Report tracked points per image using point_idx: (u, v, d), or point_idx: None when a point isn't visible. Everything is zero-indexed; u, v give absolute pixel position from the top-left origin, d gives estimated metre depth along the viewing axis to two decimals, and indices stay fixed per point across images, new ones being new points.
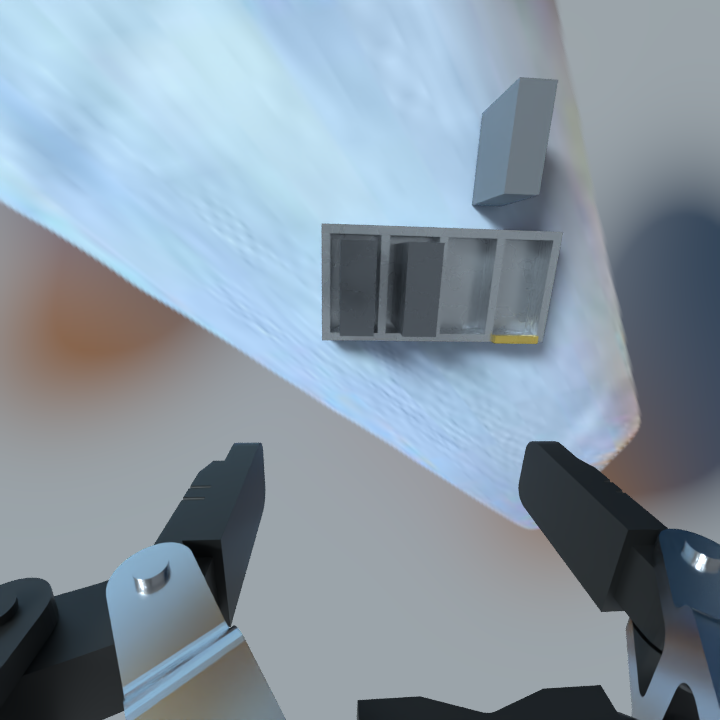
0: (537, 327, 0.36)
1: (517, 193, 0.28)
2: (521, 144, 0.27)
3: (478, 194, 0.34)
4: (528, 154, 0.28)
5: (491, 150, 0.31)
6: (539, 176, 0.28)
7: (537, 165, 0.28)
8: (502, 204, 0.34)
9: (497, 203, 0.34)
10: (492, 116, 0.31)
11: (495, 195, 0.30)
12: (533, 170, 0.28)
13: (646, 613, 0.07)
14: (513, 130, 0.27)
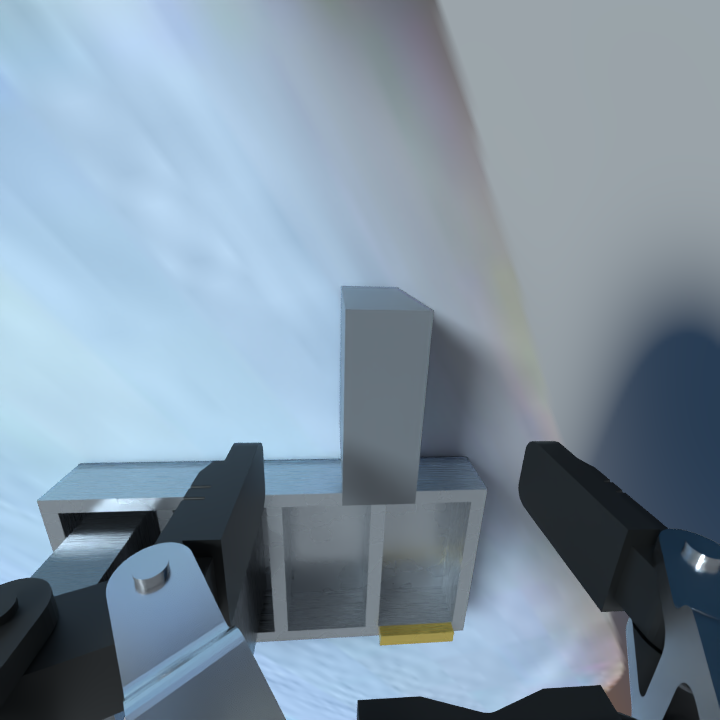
0: (453, 611, 0.22)
1: (370, 503, 0.14)
2: (366, 426, 0.13)
3: None
4: (384, 442, 0.13)
5: (341, 376, 0.16)
6: (412, 476, 0.14)
7: (405, 458, 0.13)
8: None
9: None
10: None
11: (341, 478, 0.15)
12: (399, 467, 0.14)
13: (646, 613, 0.07)
14: (345, 404, 0.13)
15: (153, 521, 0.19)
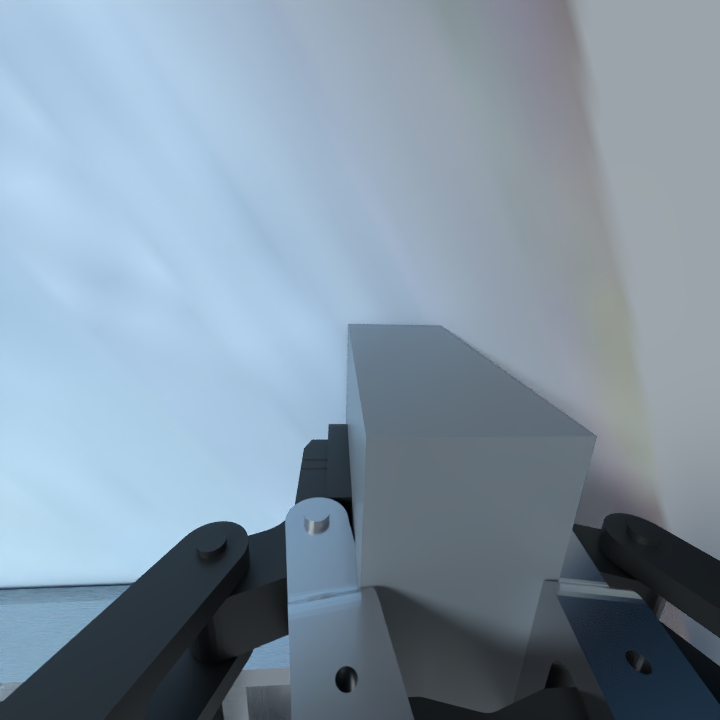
0: None
1: None
2: (408, 676, 0.06)
3: None
4: (446, 700, 0.06)
5: None
6: None
7: None
8: None
9: None
10: (350, 389, 0.09)
11: None
12: None
13: None
14: None
15: None
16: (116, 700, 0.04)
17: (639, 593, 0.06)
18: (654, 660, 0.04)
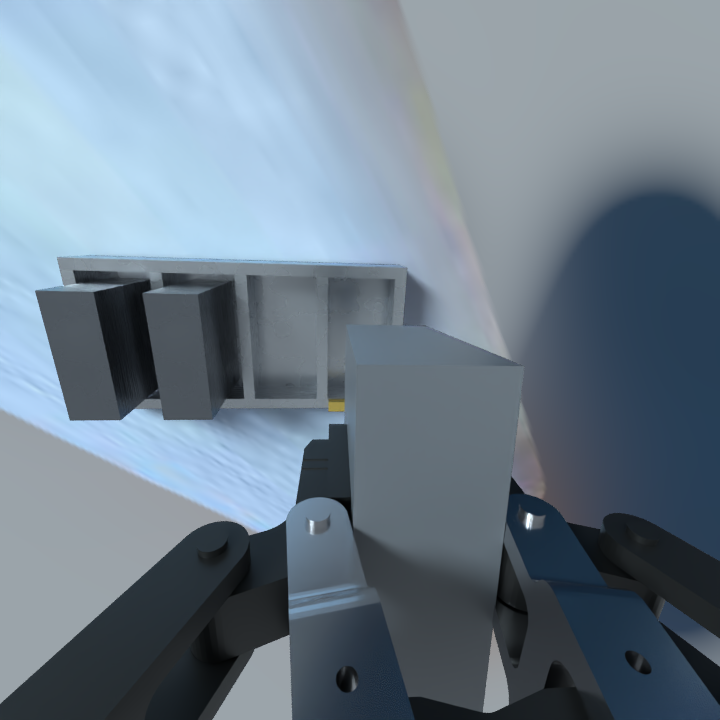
0: None
1: None
2: (394, 580, 0.07)
3: None
4: (427, 607, 0.07)
5: None
6: (478, 665, 0.07)
7: (466, 636, 0.07)
8: None
9: None
10: (347, 371, 0.10)
11: None
12: (454, 651, 0.07)
13: (500, 580, 0.07)
14: None
15: None
16: (117, 699, 0.04)
17: (638, 593, 0.06)
18: (653, 660, 0.04)
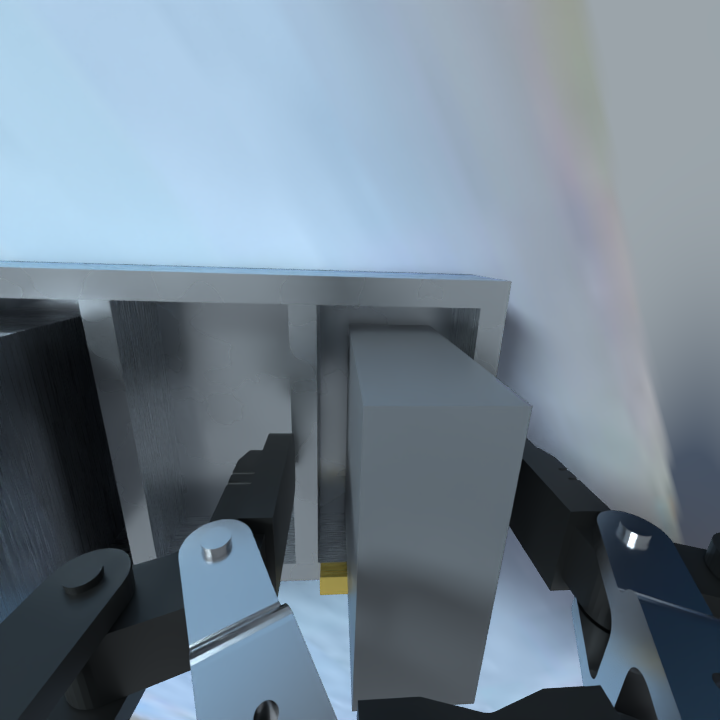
0: None
1: None
2: (397, 596, 0.07)
3: None
4: (426, 618, 0.08)
5: (349, 467, 0.11)
6: (472, 665, 0.08)
7: (462, 642, 0.08)
8: None
9: None
10: (351, 379, 0.10)
11: (349, 636, 0.10)
12: (451, 654, 0.08)
13: (589, 594, 0.07)
14: (359, 565, 0.07)
15: None
16: None
17: None
18: None
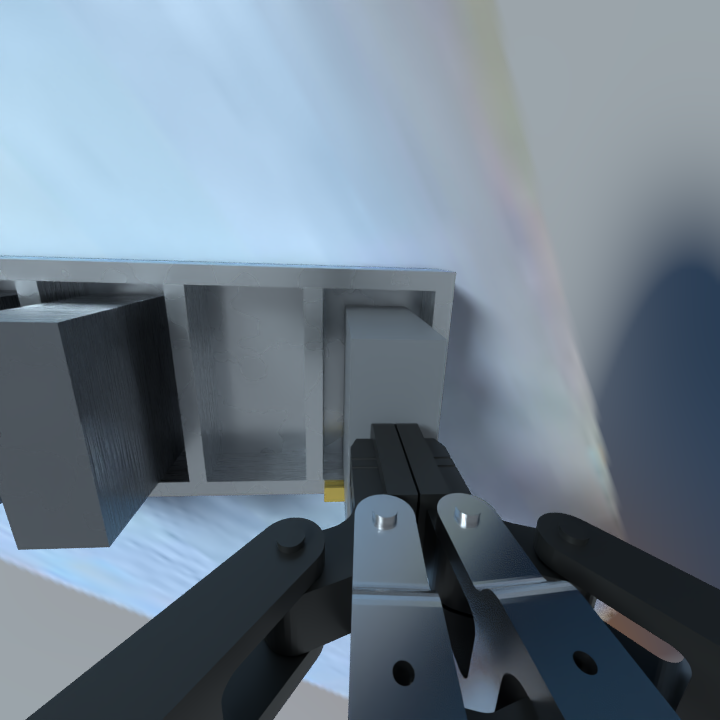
0: None
1: None
2: None
3: (343, 448, 0.18)
4: None
5: (345, 403, 0.15)
6: None
7: None
8: None
9: None
10: (346, 340, 0.15)
11: (345, 513, 0.14)
12: None
13: (442, 585, 0.07)
14: (350, 440, 0.12)
15: None
16: (200, 675, 0.04)
17: None
18: (597, 655, 0.04)
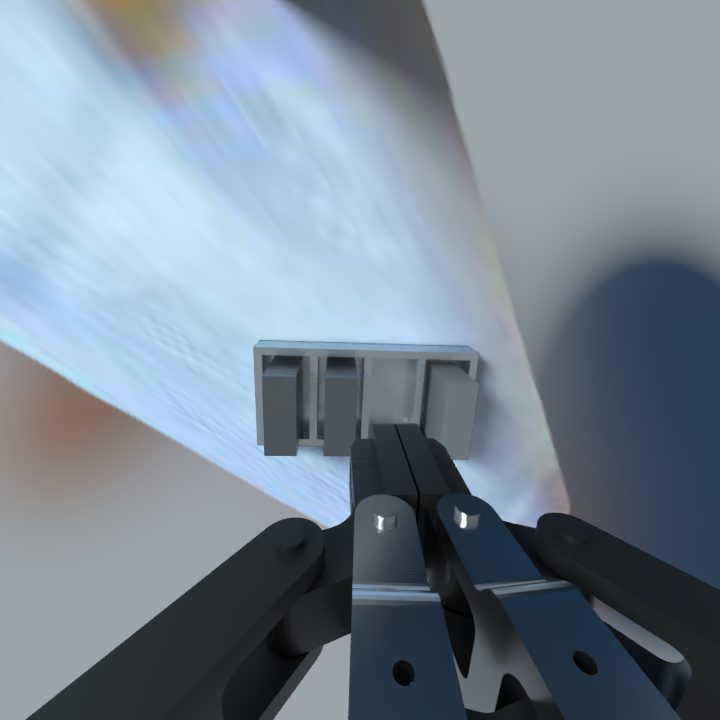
0: None
1: None
2: (451, 426, 0.33)
3: (425, 426, 0.39)
4: (457, 433, 0.33)
5: (432, 405, 0.37)
6: (467, 447, 0.34)
7: (465, 440, 0.34)
8: None
9: None
10: (433, 379, 0.36)
11: None
12: (462, 443, 0.34)
13: (442, 585, 0.07)
14: (443, 418, 0.33)
15: (301, 368, 0.36)
16: (200, 675, 0.04)
17: None
18: (597, 655, 0.04)
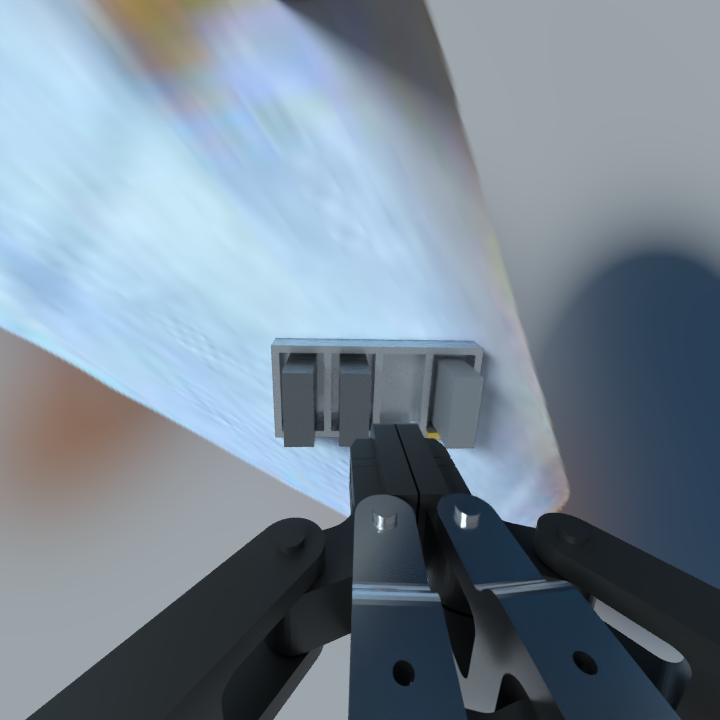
0: None
1: (457, 447, 0.37)
2: (458, 417, 0.35)
3: (432, 417, 0.42)
4: (464, 423, 0.36)
5: (439, 397, 0.39)
6: (473, 437, 0.36)
7: (471, 430, 0.36)
8: None
9: None
10: (440, 373, 0.39)
11: (442, 439, 0.38)
12: (469, 433, 0.36)
13: (442, 585, 0.07)
14: (451, 409, 0.35)
15: (316, 364, 0.39)
16: (200, 676, 0.04)
17: None
18: (597, 655, 0.04)
